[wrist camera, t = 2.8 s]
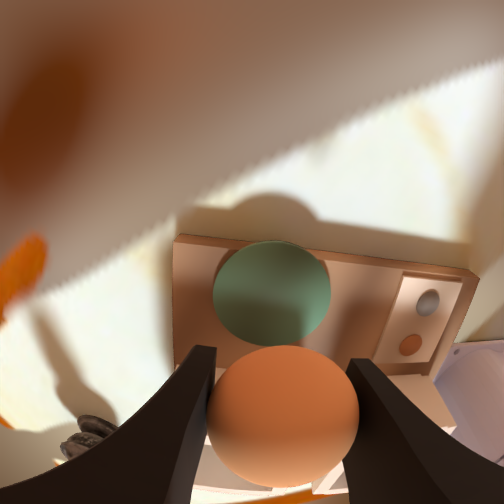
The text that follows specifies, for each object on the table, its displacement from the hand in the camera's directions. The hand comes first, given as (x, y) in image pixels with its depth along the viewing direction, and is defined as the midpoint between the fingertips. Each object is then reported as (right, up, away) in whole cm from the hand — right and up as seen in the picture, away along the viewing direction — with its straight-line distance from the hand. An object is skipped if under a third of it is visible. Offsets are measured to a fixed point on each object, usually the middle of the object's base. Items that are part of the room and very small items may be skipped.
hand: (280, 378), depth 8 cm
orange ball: (0, 0, 0) cm, 0 cm away
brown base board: (+3, -2, +8) cm, 8 cm away
